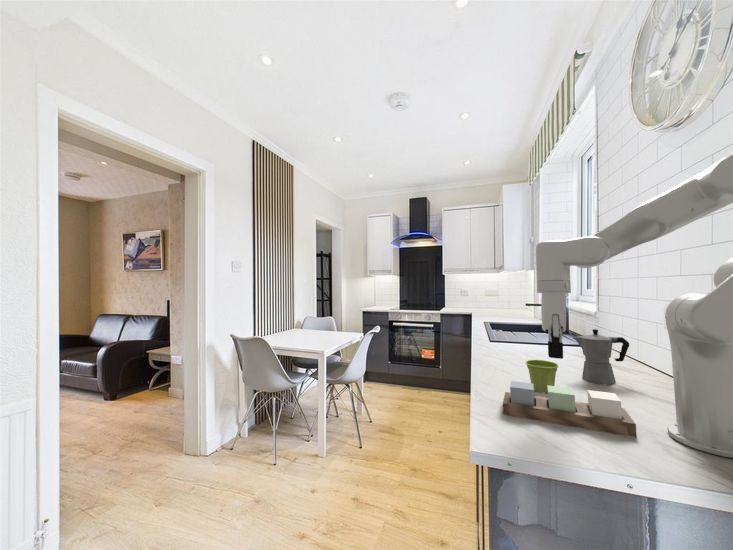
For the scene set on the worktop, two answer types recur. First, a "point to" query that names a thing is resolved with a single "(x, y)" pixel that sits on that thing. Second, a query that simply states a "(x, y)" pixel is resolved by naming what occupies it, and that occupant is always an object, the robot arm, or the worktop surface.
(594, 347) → the coffeepot
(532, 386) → the grey button
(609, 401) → the white button
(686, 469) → the worktop surface
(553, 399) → the sage button
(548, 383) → the plant pot
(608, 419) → the button housing
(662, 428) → the worktop surface
